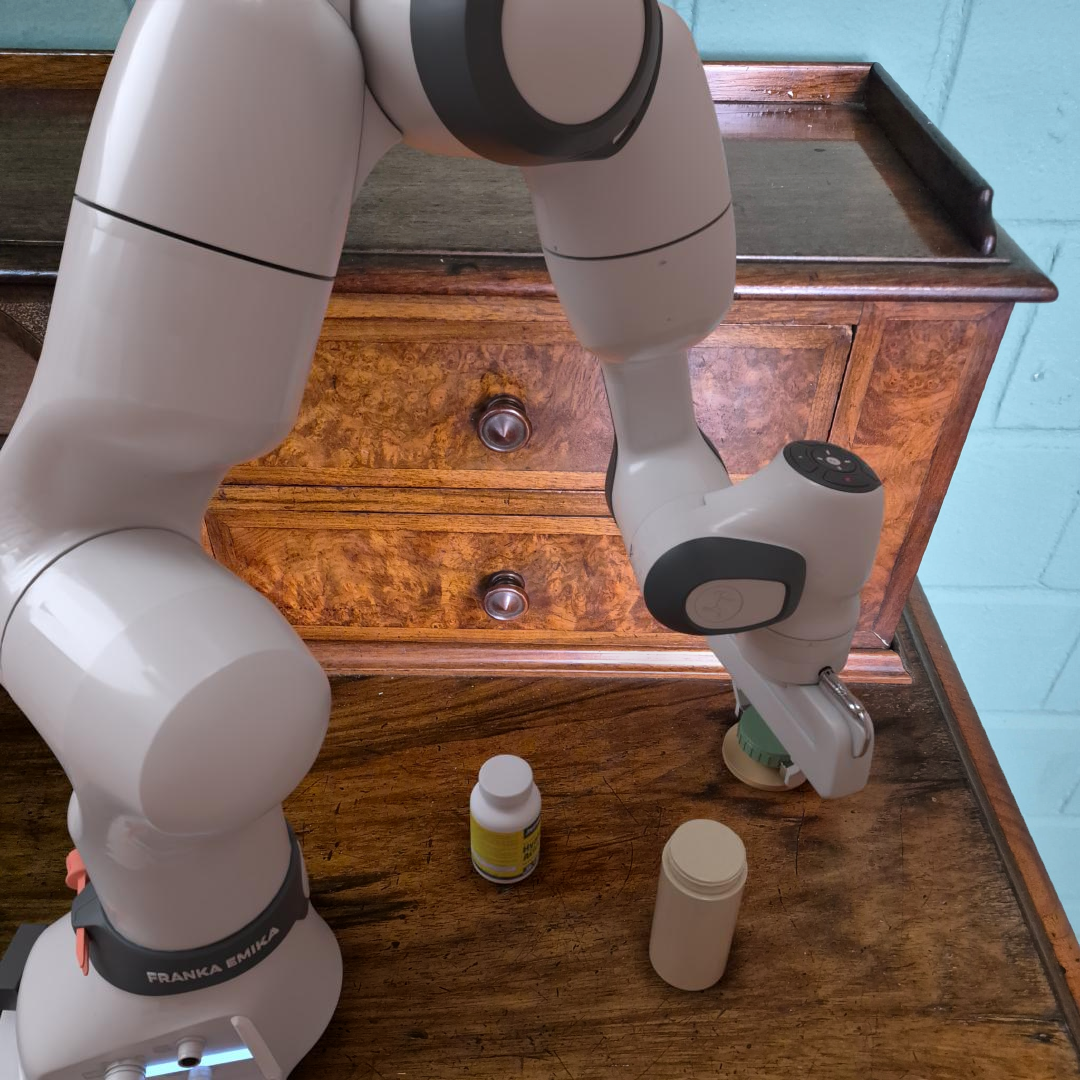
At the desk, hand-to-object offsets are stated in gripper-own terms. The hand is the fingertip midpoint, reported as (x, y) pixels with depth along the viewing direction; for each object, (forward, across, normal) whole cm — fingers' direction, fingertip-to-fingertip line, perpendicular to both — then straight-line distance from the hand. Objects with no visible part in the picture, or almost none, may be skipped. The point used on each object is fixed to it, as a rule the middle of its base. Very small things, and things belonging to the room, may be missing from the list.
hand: (768, 748), depth 84 cm
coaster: (+1, 0, 0) cm, 1 cm away
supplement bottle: (+1, -2, +25) cm, 25 cm away
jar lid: (-2, 0, 0) cm, 2 cm away
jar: (+1, -14, +15) cm, 21 cm away
